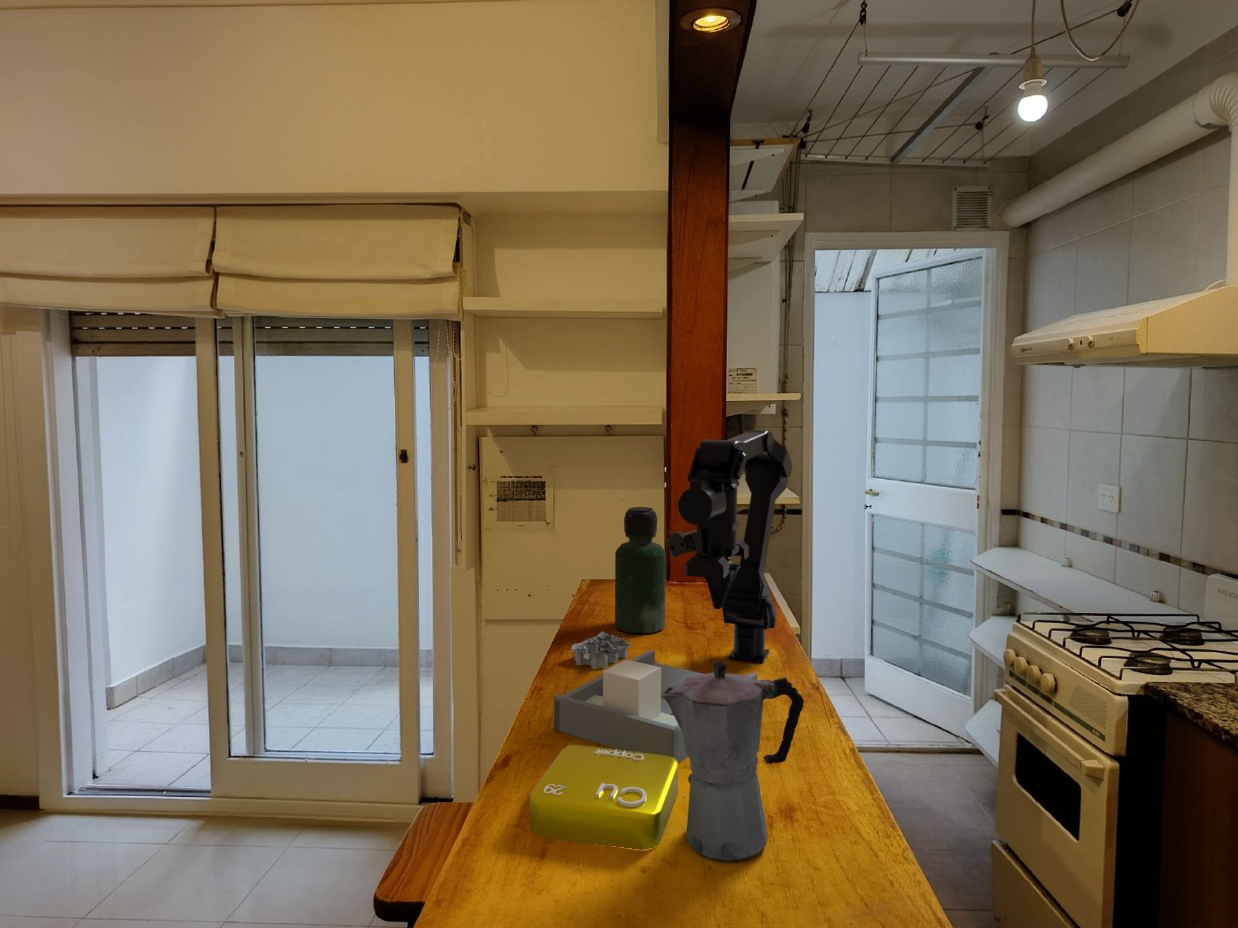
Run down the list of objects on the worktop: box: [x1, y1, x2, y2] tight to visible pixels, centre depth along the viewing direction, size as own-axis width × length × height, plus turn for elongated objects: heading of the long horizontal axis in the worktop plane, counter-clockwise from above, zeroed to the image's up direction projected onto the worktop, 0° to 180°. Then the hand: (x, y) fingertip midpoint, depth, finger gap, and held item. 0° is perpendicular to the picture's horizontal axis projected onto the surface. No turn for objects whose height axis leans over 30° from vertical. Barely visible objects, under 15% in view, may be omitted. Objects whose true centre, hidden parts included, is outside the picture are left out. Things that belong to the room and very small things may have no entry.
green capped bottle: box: [614, 506, 667, 635], centre depth 162 cm, size 10×10×25 cm
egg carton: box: [570, 631, 632, 670], centre depth 143 cm, size 11×8×4 cm
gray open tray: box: [553, 649, 759, 764], centre depth 118 cm, size 26×20×5 cm
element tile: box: [529, 744, 679, 850], centre depth 92 cm, size 15×15×5 cm
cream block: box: [602, 658, 661, 720], centre depth 112 cm, size 6×6×7 cm
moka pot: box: [661, 661, 805, 862], centre depth 85 cm, size 10×15×20 cm, turn 95°
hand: (717, 608), depth 130 cm, fingers closed
